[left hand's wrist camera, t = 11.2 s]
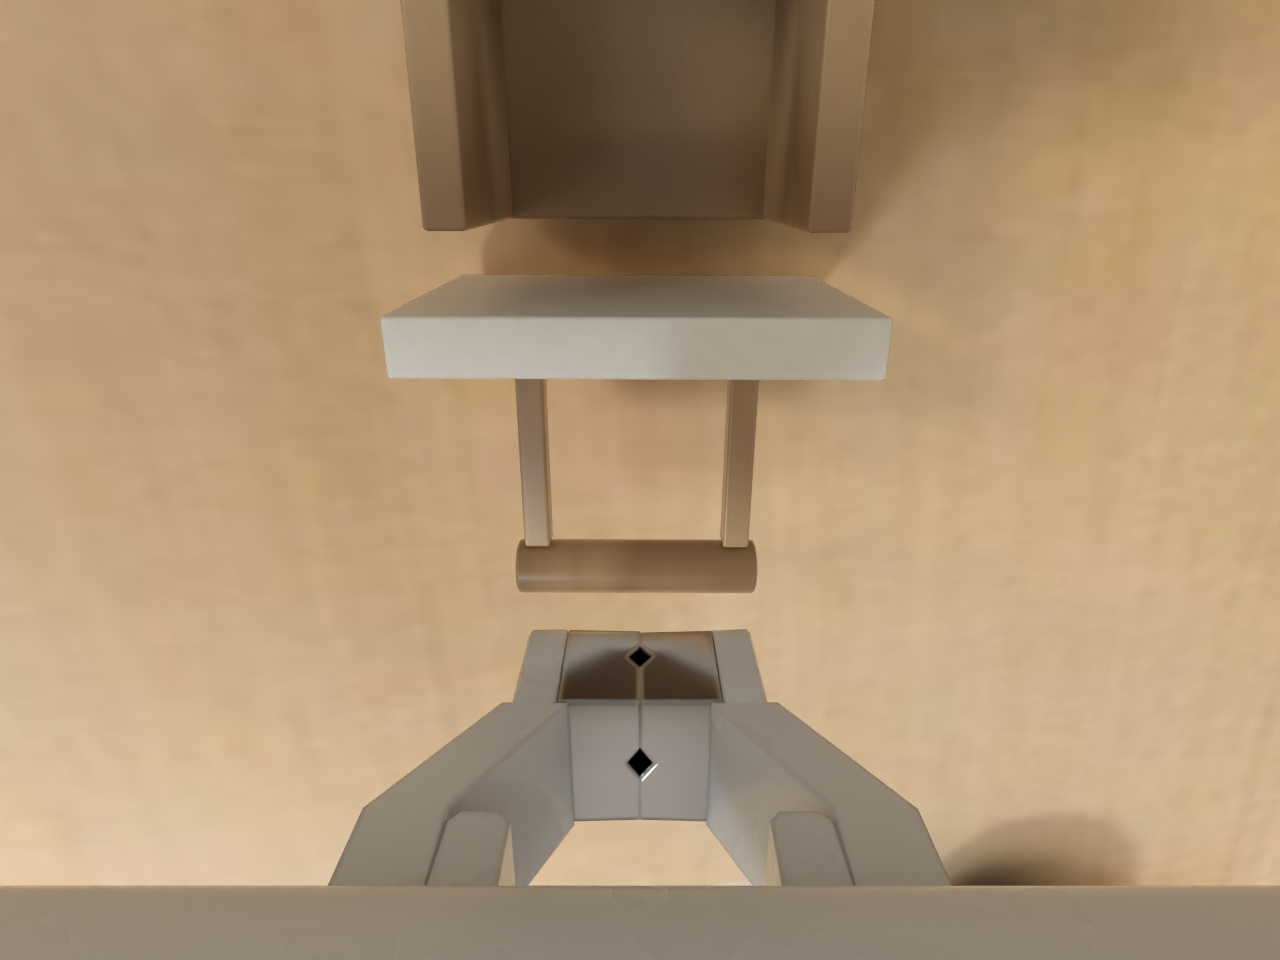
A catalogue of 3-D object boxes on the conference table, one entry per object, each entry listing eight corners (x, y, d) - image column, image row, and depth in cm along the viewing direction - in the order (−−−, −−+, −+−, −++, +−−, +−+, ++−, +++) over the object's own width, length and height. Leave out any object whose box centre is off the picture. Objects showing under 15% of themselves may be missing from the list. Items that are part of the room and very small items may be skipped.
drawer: (793, 506, 23) (853, 632, 16) (480, 505, 23) (418, 630, 16) (901, -719, 14) (1134, -1522, 7) (379, -723, 14) (147, -1528, 7)
